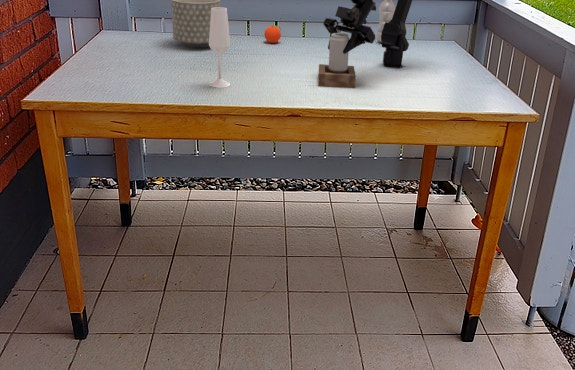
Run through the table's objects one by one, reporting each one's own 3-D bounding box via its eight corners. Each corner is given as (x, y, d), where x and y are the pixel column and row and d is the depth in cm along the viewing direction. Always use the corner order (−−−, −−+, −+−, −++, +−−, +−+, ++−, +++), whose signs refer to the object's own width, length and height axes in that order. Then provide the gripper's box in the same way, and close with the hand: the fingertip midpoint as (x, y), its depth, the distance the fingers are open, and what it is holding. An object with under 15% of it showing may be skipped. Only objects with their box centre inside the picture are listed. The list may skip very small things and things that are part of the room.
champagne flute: (211, 80, 189) (209, 6, 178) (231, 81, 189) (231, 7, 178) (208, 86, 183) (206, 10, 172) (229, 87, 183) (228, 11, 172)
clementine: (275, 39, 245) (275, 22, 242) (285, 43, 241) (286, 25, 237) (260, 42, 240) (261, 24, 237) (271, 45, 236) (272, 28, 232)
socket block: (352, 77, 199) (353, 66, 198) (354, 87, 189) (355, 75, 187) (318, 75, 200) (319, 64, 198) (318, 85, 189) (319, 74, 187)
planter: (196, 37, 243) (195, -8, 235) (230, 45, 233) (230, -1, 225) (163, 45, 229) (160, -2, 221) (198, 53, 220) (196, 4, 211)
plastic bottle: (392, 44, 245) (398, -4, 236) (376, 44, 245) (381, -5, 236) (390, 41, 251) (395, -7, 241) (374, 40, 251) (379, -7, 241)
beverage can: (342, 67, 196) (344, 31, 191) (350, 72, 191) (352, 35, 185) (325, 68, 194) (326, 32, 189) (333, 73, 189) (334, 36, 184)
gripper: (328, -8, 190) (304, 31, 188) (373, 1, 179) (348, 41, 177) (341, 14, 199) (318, 50, 197) (385, 23, 187) (362, 62, 185)
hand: (336, 51), depth 189 cm, fingers closed on beverage can, 6 cm apart
